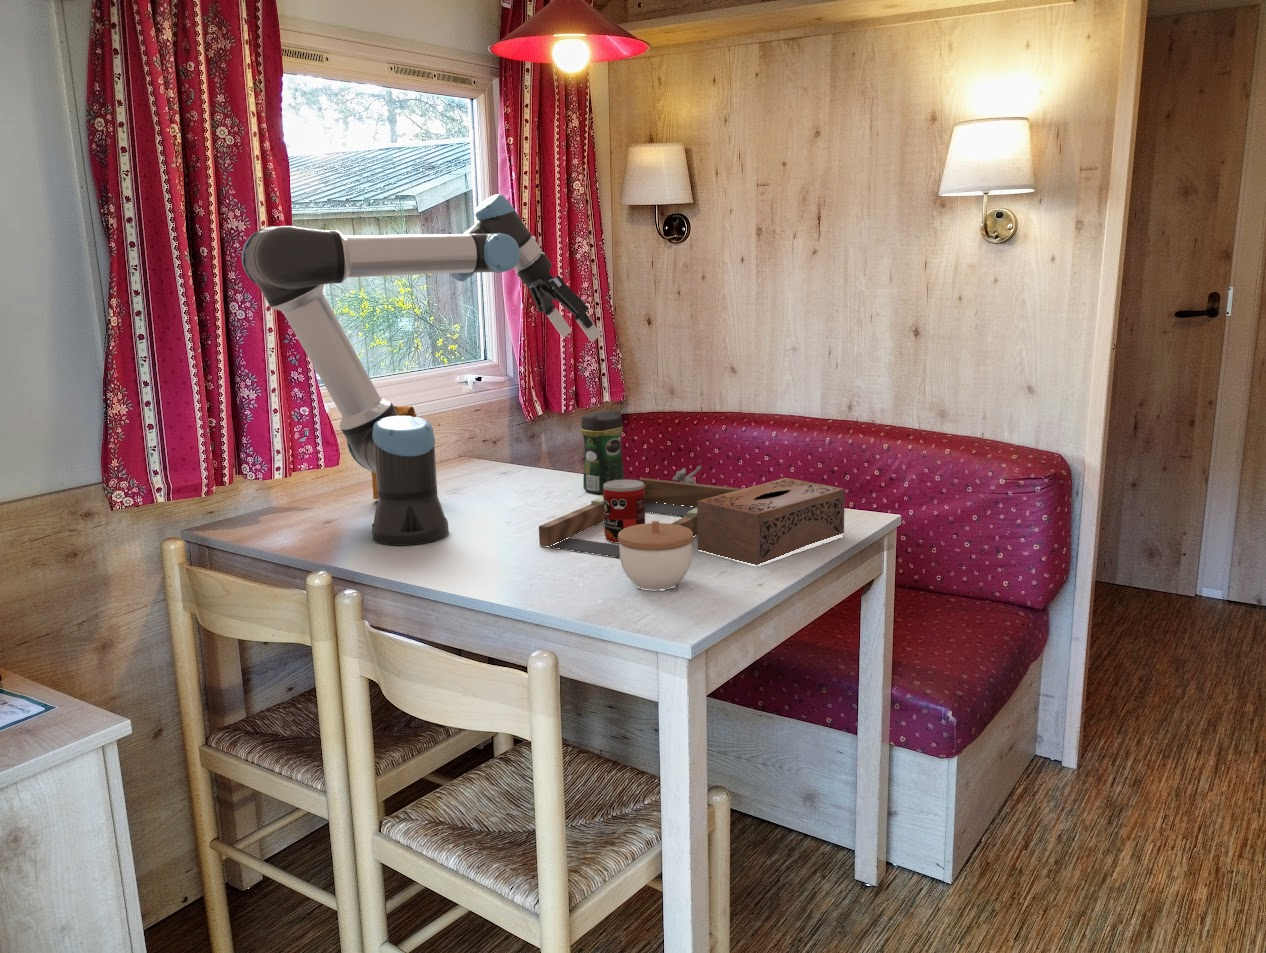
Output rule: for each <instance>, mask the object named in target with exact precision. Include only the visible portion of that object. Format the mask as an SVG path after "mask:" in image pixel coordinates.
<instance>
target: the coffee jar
mask: <svg viewBox="0 0 1266 953" xmlns="http://www.w3.org/2000/svg"><path fill="white" fill-rule="evenodd" d="M580 427H581V429H580V430H581V434H582V437H583V442H584V443H583V444H584V446H583V447H584V459H583V460H584V463H583V484H582V485H583V489H584V491H586V492H587V491H588V493H590V492H592V493H591V494H594V493H595V494H603V486H604V483H606V482H609V481H613V480H626V479H625V472H624V471H625V470H624V469H625V468H624V464H623V452H622V451H623V450H622V433H623V429H624V427H623V419H622V415H621V414H620V412H619V411H615V410H614V411H613V410H602V411H597V412H593V413H588V414H584V415H583V416H582V417H581V425H580Z"/></svg>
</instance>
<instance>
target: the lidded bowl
mask: <svg viewBox="0 0 1266 953" xmlns="http://www.w3.org/2000/svg"><path fill="white" fill-rule="evenodd" d="M693 540H694V538H693V532H692V531H691V530H690V529H689V528H687V527H684V526H681V525H676V524H671V523H666V522H665V523H664V522H660V521H659V520H652V521H651V522H650V523H645V524H639V525H634V526H630V527H627V528H624V529H622V530H621V531H620V532H619V533H618V541H619V543H618V545H619V552H620V558H619V559H620V563H621V567H622V569H623V571H624V573H625V575H626V577H628V579H629V580H630V581H631V582H632V583H634V585H635V584H636V586H638V587H640V588H643V589H648V590H649V589H650V590H660V589H668V588H671V587H674V586H676V585H677V583H678V584H679V583H680V582H681V581H682V580H683V579H684V577H685V576H686V575H687V573H688V572H689V569H690V567H691V564H692V559H693V558H692V557H693ZM636 586H635V587H636ZM677 586H678V585H677ZM677 586H676V587H677Z"/></svg>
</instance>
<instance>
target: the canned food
mask: <svg viewBox="0 0 1266 953" xmlns="http://www.w3.org/2000/svg"><path fill="white" fill-rule="evenodd" d="M602 494H603V499H604V522H603V526H604V536H605V540H606V541H608V540H609V541H608V542H610V541H613V542H612V543H614V542H619V541H618V533H619V532H620V531H621V530H622V529H624V528H627V527H630V526H634V525H639V524H646V512H645V491H644V483H643V482H641V481H639V479H638V480H637V479H625V480H613V481H609V482H606V483H604V486H603V493H602Z"/></svg>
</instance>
